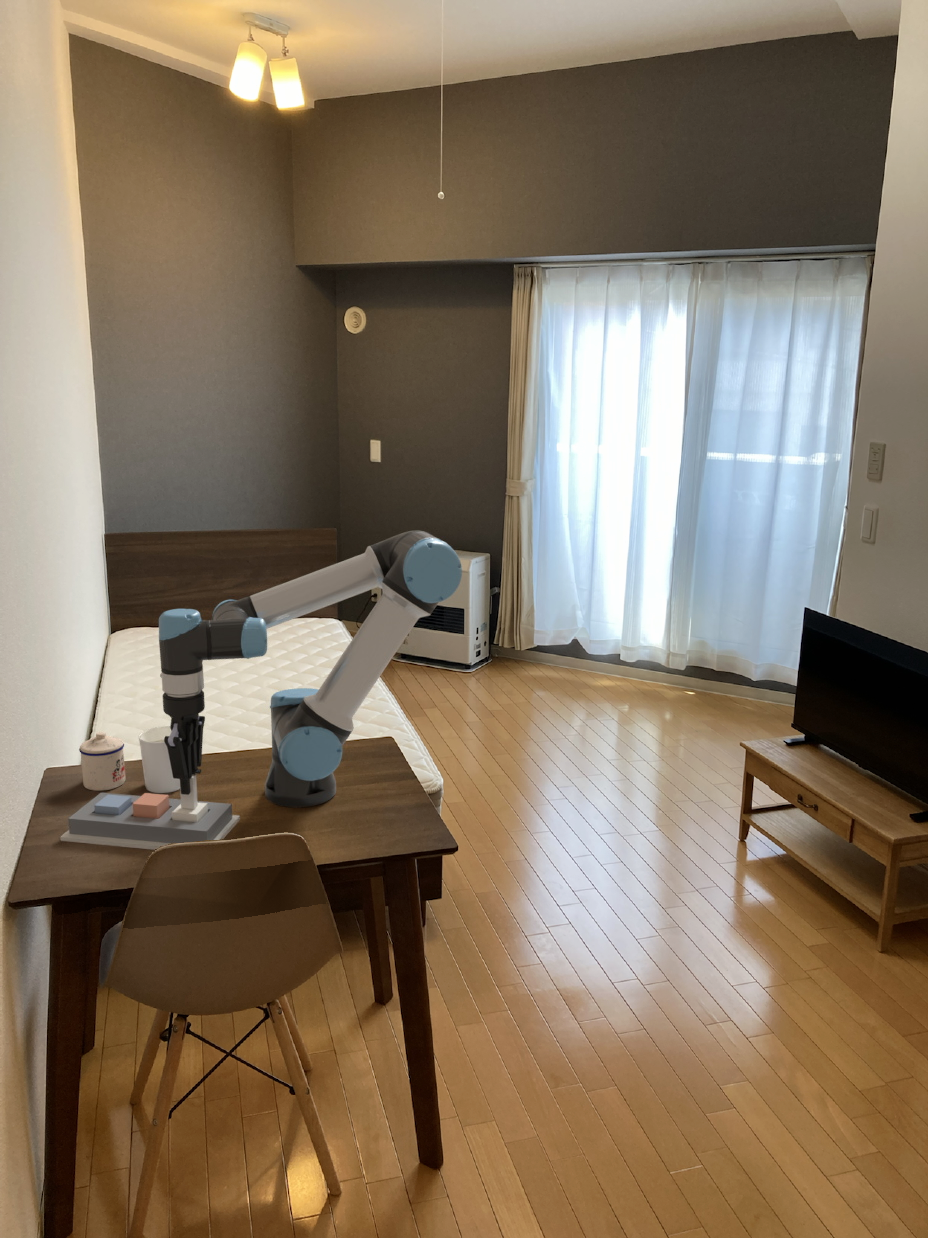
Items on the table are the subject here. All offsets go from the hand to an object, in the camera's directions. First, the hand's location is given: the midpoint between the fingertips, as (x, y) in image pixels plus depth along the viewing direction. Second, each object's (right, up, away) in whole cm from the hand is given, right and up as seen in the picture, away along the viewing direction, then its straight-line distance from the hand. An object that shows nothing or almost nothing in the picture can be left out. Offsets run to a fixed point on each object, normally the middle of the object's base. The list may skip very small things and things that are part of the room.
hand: (189, 806), depth 180 cm
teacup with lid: (-26, +1, +25) cm, 36 cm away
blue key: (-16, -2, +3) cm, 16 cm away
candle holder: (-12, 0, +23) cm, 26 cm away
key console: (-8, -5, +3) cm, 10 cm away
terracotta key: (-8, -2, +2) cm, 8 cm away
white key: (0, -3, +1) cm, 3 cm away
